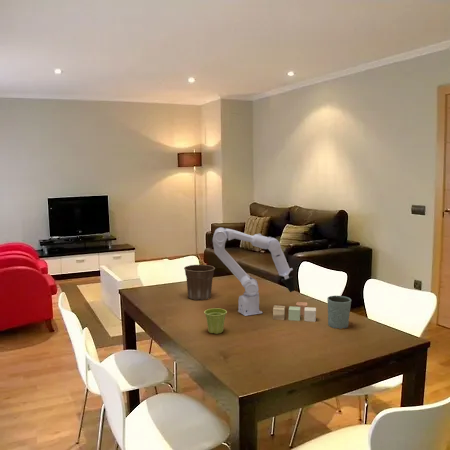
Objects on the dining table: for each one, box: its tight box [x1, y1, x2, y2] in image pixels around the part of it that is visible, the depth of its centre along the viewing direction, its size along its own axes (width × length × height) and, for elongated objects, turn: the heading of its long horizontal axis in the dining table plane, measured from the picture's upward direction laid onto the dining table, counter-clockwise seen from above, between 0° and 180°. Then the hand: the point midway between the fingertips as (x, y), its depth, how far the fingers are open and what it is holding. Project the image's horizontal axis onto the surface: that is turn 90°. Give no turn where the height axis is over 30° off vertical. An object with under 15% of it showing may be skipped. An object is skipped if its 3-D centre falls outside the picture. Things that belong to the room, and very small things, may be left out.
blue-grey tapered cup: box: [326, 295, 352, 330], centre depth 199 cm, size 10×10×12 cm
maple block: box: [272, 305, 286, 321], centre depth 211 cm, size 5×5×5 cm
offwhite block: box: [303, 306, 317, 323], centre depth 208 cm, size 5×5×5 cm
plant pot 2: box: [203, 307, 228, 335], centre depth 193 cm, size 9×9×9 cm
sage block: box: [288, 306, 301, 322], centre depth 209 cm, size 5×5×5 cm
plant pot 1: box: [184, 264, 216, 301], centre depth 244 cm, size 16×16×16 cm
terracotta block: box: [295, 301, 308, 317], centre depth 216 cm, size 5×5×5 cm
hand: (291, 289), depth 217 cm, fingers open, 7 cm apart
